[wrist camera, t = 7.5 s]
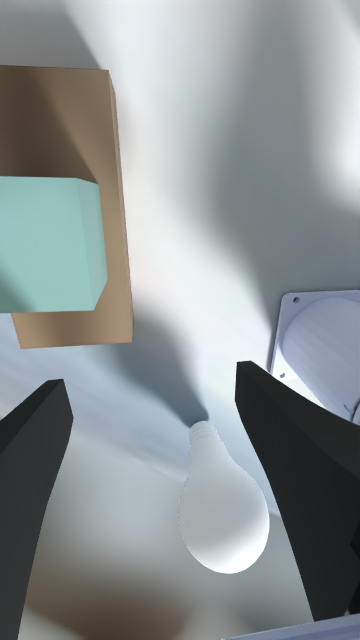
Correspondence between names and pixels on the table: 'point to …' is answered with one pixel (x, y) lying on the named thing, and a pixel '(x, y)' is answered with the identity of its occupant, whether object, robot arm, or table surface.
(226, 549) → the lightbulb
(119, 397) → the table surface
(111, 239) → the pencil box
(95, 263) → the teal cube
